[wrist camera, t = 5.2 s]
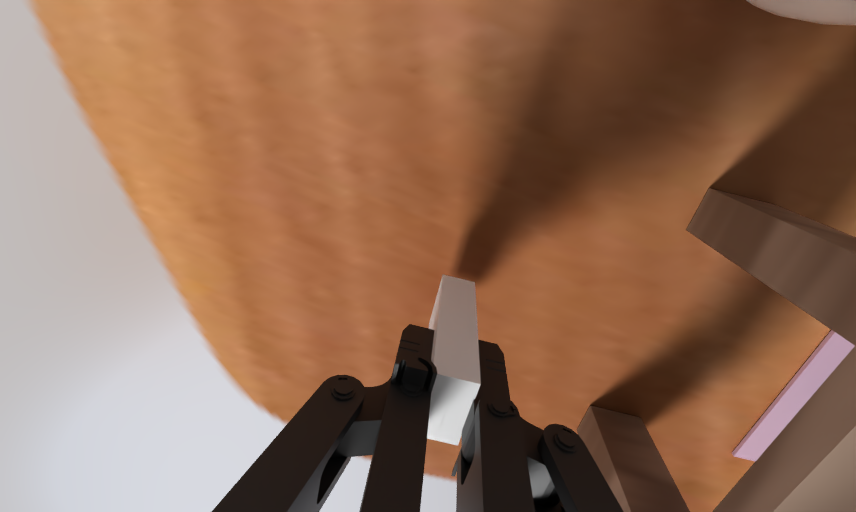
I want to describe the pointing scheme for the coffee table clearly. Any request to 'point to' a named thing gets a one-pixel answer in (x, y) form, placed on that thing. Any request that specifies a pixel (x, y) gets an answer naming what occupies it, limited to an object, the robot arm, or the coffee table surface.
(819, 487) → the bridge
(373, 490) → the robot arm
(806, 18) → the lidded jar
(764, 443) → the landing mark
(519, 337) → the coffee table surface
